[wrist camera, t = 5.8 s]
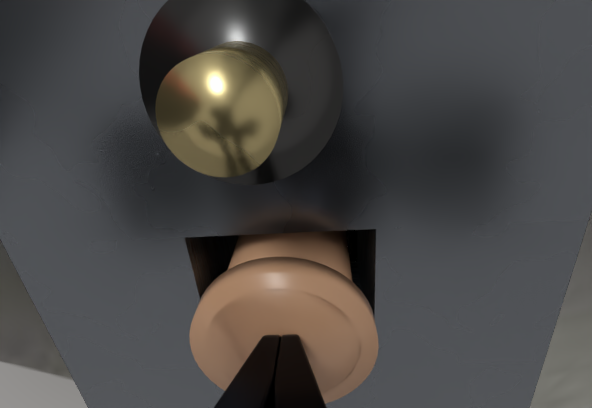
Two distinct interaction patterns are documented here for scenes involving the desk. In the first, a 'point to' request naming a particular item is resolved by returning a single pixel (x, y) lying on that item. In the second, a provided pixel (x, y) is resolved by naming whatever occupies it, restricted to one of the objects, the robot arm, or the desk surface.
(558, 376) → the desk surface
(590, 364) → the desk surface
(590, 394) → the desk surface
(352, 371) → the knob
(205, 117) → the black and brass dome
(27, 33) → the panel
